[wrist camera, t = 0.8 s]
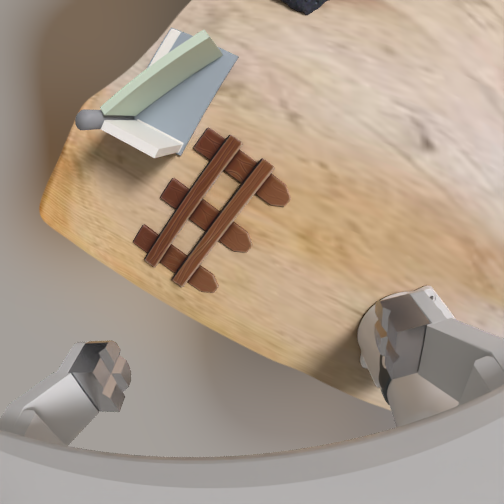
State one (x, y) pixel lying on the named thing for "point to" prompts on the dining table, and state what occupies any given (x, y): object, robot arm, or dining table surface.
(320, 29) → the dining table surface
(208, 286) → the decorative fence
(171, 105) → the card
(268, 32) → the dining table surface
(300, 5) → the dark slate chunk
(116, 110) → the green wall panel
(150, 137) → the fence post and white panel
